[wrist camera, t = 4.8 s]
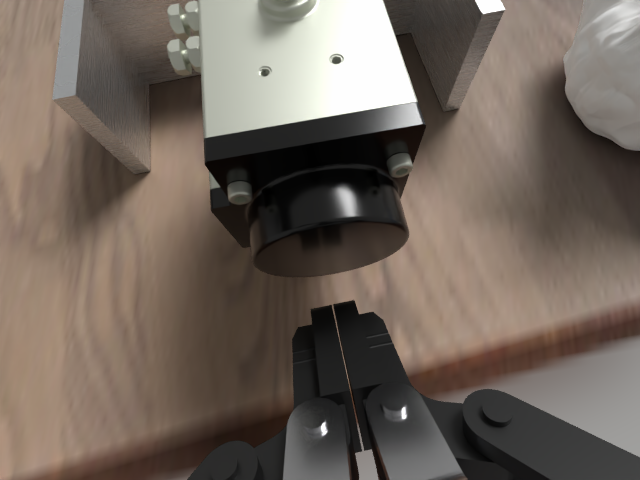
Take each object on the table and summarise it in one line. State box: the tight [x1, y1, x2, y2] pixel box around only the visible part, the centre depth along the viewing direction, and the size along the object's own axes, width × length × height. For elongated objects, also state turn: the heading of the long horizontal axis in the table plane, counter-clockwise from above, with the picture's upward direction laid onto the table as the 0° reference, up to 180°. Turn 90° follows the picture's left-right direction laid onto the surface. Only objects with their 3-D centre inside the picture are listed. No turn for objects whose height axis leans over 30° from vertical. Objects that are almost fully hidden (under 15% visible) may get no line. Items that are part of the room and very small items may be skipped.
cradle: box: [52, 0, 505, 174], centre depth 19 cm, size 20×8×6 cm, turn 101°
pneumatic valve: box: [167, 0, 426, 277], centre depth 13 cm, size 6×12×12 cm, turn 9°
